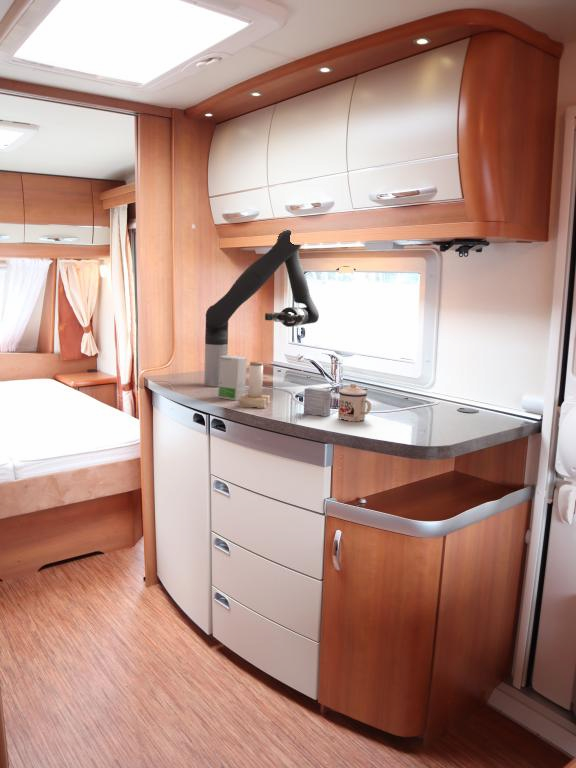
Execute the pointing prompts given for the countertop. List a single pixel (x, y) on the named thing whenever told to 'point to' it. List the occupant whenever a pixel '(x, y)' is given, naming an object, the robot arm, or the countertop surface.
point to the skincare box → (232, 377)
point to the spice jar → (255, 379)
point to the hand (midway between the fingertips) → (277, 318)
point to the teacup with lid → (353, 403)
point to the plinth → (254, 401)
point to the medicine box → (317, 401)
